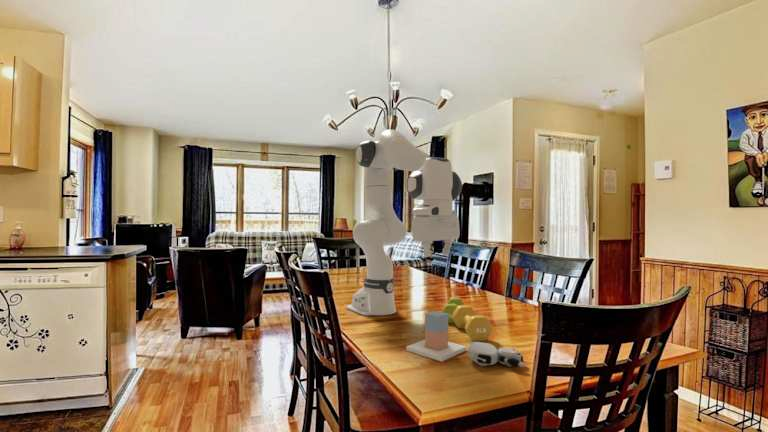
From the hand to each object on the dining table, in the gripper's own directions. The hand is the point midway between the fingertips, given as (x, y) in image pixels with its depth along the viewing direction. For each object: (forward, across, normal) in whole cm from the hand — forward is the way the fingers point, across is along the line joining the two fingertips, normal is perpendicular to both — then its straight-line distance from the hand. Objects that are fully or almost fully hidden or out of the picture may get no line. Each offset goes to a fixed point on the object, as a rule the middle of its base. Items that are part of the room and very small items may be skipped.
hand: (437, 255), depth 120 cm
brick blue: (+23, 0, 0) cm, 23 cm away
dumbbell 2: (+30, -22, -1) cm, 37 cm away
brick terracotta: (+28, 0, 0) cm, 28 cm away
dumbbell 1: (+30, -35, -16) cm, 49 cm away
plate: (+29, 0, 0) cm, 29 cm away
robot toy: (+30, -3, +18) cm, 35 cm away
